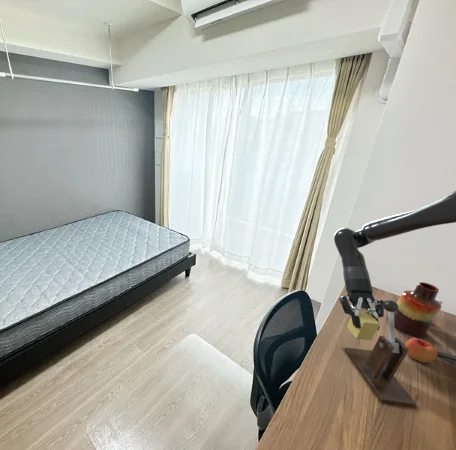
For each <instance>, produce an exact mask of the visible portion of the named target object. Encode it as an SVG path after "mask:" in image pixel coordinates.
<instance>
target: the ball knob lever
mask: <svg viewBox="0 0 456 450" xmlns="http://www.w3.org/2000/svg"><path fill="white" fill-rule="evenodd" d="M383 301H384V302H383V308H384V311H387V340H388V341H389V342H390V343H391V345H392V346H393V347H394V349H393V351H392V353H399V343H396V342H395V337H396V335H395V334H396V332H395V327H394V312H396V311H397V310H398V309H399V306H398V304H397V302H396V301H394V300H391V299H387V300H383Z"/></svg>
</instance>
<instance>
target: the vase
mask: <svg viewBox="0 0 456 450" xmlns="http://www.w3.org/2000/svg"><path fill="white" fill-rule="evenodd" d="M414 288H415V289H411V290H410V289H409V290H408V289H407V290H404V291H403V292H402V293H401V295H400V296H399V298H398V300H397V302H396V303H397V304H398V306H399V309H398V310H397V311H396V312H394V329H396V330H398V331H399V332H401V333H403V334H405V335H408V336H410V337H414V338H423V337H425V335H426V334H427V332H428V330H430V327H431V326H432V324H433V322H434V321H435V319H436V318H437V316H438V314H439V312H440V311H441V309H442V304H440V303H439V302H438V301H437V300H436V299H435V298H436V297H437V296H438V294H439V292H440V289H439V288H438V287H437V286H435V285H433V284H430V283H428V282H423V281H421V282H418V283H417V285H416V286H415V287H414Z"/></svg>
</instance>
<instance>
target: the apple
mask: <svg viewBox="0 0 456 450" xmlns="http://www.w3.org/2000/svg"><path fill="white" fill-rule="evenodd" d="M405 346H406V347H407V348H408V349H409V351H408V352H407V355H408V356H409V357H410V358H411V359H413V360H415V361H418V362H421V363H431V362H433V361H434V360H436V359H437V357H438V350H437V348H435V346H434V345H433V344H431V343H430V342H427V341H425V340H423V339H421V338H419V337H412V338H409V339H408V340H407V341H406V342H405Z"/></svg>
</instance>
